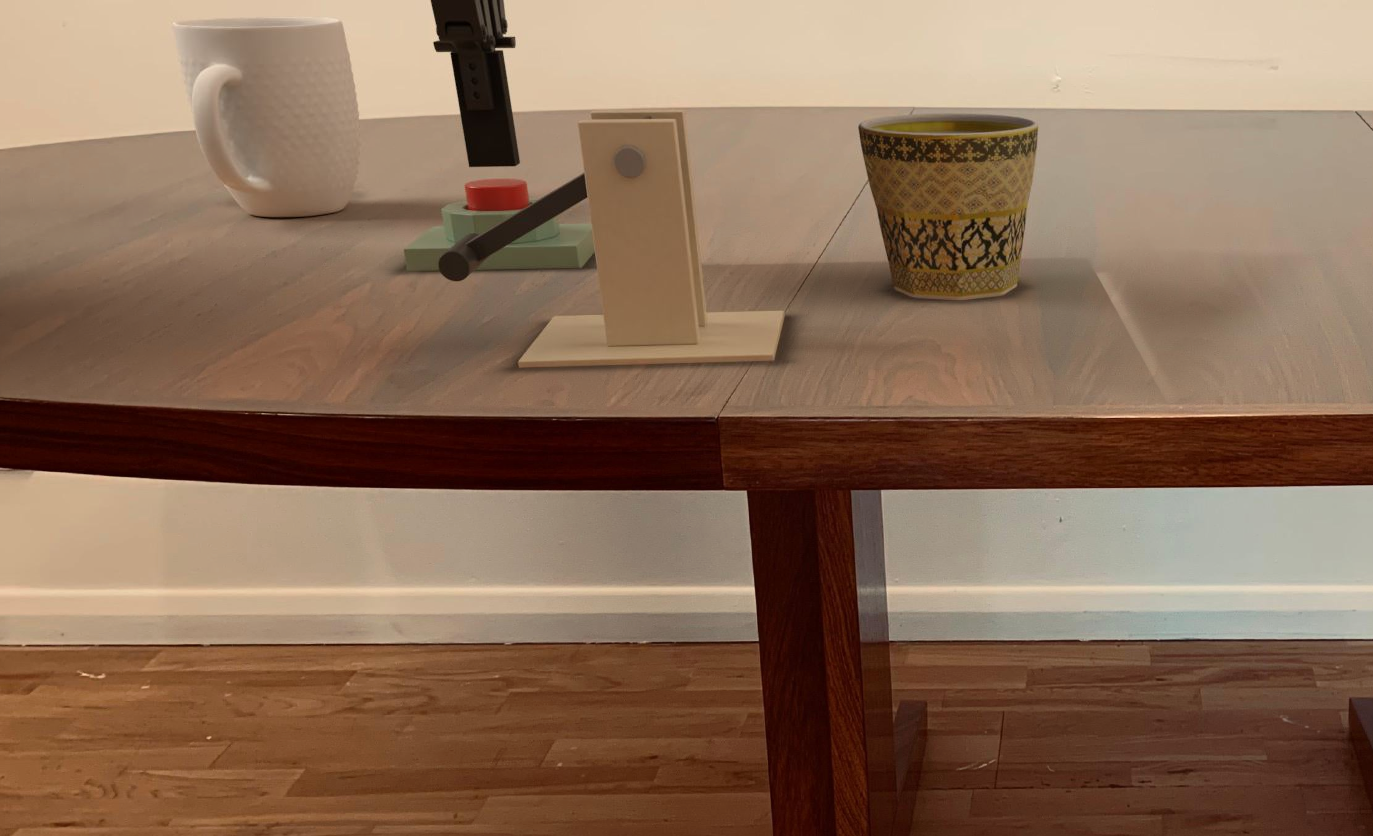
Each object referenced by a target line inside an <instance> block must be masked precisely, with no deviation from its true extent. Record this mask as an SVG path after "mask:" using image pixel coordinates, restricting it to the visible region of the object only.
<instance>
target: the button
mask: <svg viewBox="0 0 1373 836" xmlns="http://www.w3.org/2000/svg"><path fill="white" fill-rule="evenodd" d="M464 191H465V197H466V201H467V204H468V210H471V211H508V210H518V209H524V208H525V207H527V206H529V205H530V202H529V198H530V195H529V189H528V183H527V181H526V180H523V179H518V178H488V179H478V180H472V181H469V182H465V184H464Z"/></svg>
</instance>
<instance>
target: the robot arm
mask: <svg viewBox="0 0 1373 836" xmlns="http://www.w3.org/2000/svg"><path fill="white" fill-rule="evenodd" d="M430 5H431V9H432V13H433V19H434V23H435V32H436V36H437V37H438V40H435V41H432V44H433V47H434V50H435V52H436V53H450V59H451V60H450V61H451V66H452V72H453V77H454V84H455V91H456V96H457V102H458V107H459V113H460V114H459V115H460V121H461V126H462V133H463V138H464V139H463V140H464V144H465V145H464V146H465V151H466V156H467V163H468V167H469V168H494V167H495V168H498V167H501V168H502V167H517V166H518V165H520V164H521V160H520V152H519V147H518V139H517V135H516V134H517V133H516V126H515V121H514V113H513V108H512V107H513V106H512V101H511V95H510V88H509V81H508V75H507V69H506V68H507V67H506V62H505V55H504V50H503V49H516V45H517V44H516V41H517V40H516V36H504V35H507V33H508V26H509V25H508V20H507V19H506V11H505V1H504V0H430Z"/></svg>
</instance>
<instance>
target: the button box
mask: <svg viewBox="0 0 1373 836" xmlns="http://www.w3.org/2000/svg"><path fill="white" fill-rule="evenodd" d="M539 199H540V198H538V197H537V198H534V197H529V202H530V204H532V203H534V202H535V201H537V200H539ZM520 210H522V209H518V210H508V211H471V210H468V204H467V200H463V201H457V202H453V203H448V204H446V205H445V206H443V207H442V208H441V209H440V211H441V216H442V223H443V225H434V226H433V227H431V228H430V229H429V230H428V231H426V232H425V233H423V234H421V236H419V237H418V238H416V239H415V240H413V242H411V243H410V244H408V245H407V246H405V247H404V248H403V254H404V260H405V265H406V270H407V272H425V271H427V272H430V271H440V270H439V267H438V261H439V258H440V257H441V255H442V254H444V253H445V252H446V251H447V250H448V249H450V248H451V247H452V246H453V245H455V244H456V243H457V242H458V241H460V240H461V239H462V238H463V237H465V236H466V235H468V234H471V233H476V234H482V233H483V232H485V231H487V230H488V229H490V228H492V227H493V226H495V225H497V224H498V223H500V222H502V221H504V220H505V219H507V218H509V217H510V216H512V215H514V214H515V213H517V212H519V211H520ZM594 254H595V249H594V242H593V234H592V227H591V222H588V223H584V222H583V223H560V222H559V215H557V216H556V217H554V218H552V219H551V220H549V221H547V222H545V223H544V224H542V225H540V226H539V227H537V228H535V229H534V230H532V231H530V232H529V233H527V234H525V235H524V236H522V237H520V238H519V239H517V240H515V241H514V242H512V243H510V244H508V245H507V246H505V247H503V248H502V249H500V250H498V251H497V252H495V253H493V254H492V255H490V256H489V257H488V258H487V259H486V260H485V261H484V262H483V263H482V264H481V265H479V266H478V267H477V268H476V269H475V270H476V271H478V270H479V271H480V270H485V271H487V270H527V269H529V270H530V269H531V270H532V269H535V270H537V269H576V268H577V269H579V268H580V269H581V268H583V266H584V265H586V263H587V262H588V260H590V258H591V257H592V256H593V255H594ZM475 270H474V271H475Z"/></svg>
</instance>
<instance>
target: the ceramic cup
mask: <svg viewBox="0 0 1373 836" xmlns="http://www.w3.org/2000/svg"><path fill="white" fill-rule="evenodd" d="M1038 132H1039V124H1038V123H1037V122H1036V121H1034V120H1032V119H1028V118H1024V117H1020V116H1011V115H1002V114H990V113H989V114H988V113H956V112H955V113H951V112H950V113H947V112H945V113H916V114H915V113H914V114H899V115H890V116H883V117H882V116H881V117H876V118H871V119H867V120H864V121H862V122H860V123H859V124H858V135H859V141H860V147H861V153H862V158H863V162H864V167H865V172H866V175H867V181H868V184H869V188H870V192H871V195H872V198H873V201H874V205H875V209H876V214H877V218H878V224H879V228H880V232H881V236H882V241H883V245H884V249H885V255H886V257H887V261H888V266H889V271H890V276H891V281H892V284H893V288H894V290H895V291H897V292H900V293H902V294H904V295H907V296H909V297H911V298H914V299H927V300H929V299H930V300H945V301H946V300H947V301H964V300H965V301H967V300H973V299H982V298H991V297H999V296H1004V295H1005V294H1007V293H1009V292H1010V291H1012V290H1014V289H1015V288H1017V287H1018V281H1019V277H1020V276H1019V274H1020V265H1021V258H1022V251H1023V246H1024V245H1023V244H1024V238H1025V230H1026V222H1027V221H1026V220H1027V212H1028V204H1029V201H1030V200H1029V199H1030V195H1031V191H1032V186H1033V182H1034V181H1033V180H1034V172H1035V166H1036V156H1037V149H1038V134H1039V133H1038Z"/></svg>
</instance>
